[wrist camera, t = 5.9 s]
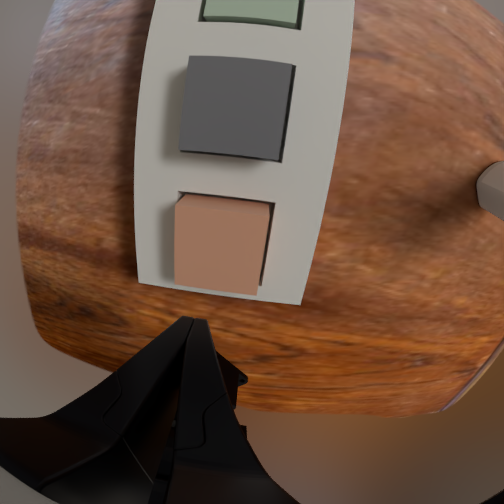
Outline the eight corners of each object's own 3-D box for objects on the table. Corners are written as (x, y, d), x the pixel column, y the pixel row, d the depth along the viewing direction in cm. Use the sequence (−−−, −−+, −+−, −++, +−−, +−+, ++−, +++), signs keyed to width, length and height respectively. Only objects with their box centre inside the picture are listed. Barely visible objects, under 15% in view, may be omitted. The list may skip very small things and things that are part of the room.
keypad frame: (296, 282, 19) (300, 305, 17) (152, 262, 19) (138, 282, 16) (344, -21, 10) (356, -38, 7) (183, -35, 9) (172, -53, 7)
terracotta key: (257, 275, 16) (256, 295, 15) (183, 265, 16) (174, 284, 14) (268, 203, 14) (269, 216, 13) (185, 194, 14) (175, 205, 13)
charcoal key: (275, 155, 13) (278, 160, 12) (189, 145, 13) (178, 149, 11) (288, 72, 11) (292, 64, 10) (198, 64, 11) (189, 55, 9)
